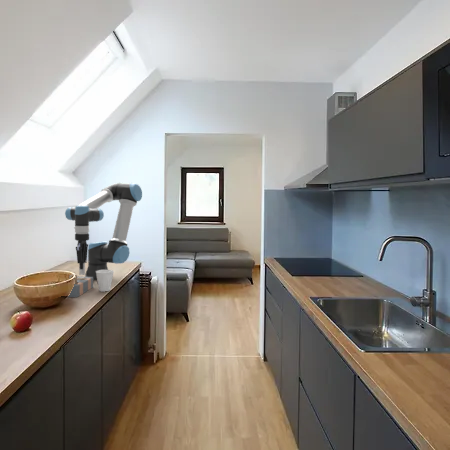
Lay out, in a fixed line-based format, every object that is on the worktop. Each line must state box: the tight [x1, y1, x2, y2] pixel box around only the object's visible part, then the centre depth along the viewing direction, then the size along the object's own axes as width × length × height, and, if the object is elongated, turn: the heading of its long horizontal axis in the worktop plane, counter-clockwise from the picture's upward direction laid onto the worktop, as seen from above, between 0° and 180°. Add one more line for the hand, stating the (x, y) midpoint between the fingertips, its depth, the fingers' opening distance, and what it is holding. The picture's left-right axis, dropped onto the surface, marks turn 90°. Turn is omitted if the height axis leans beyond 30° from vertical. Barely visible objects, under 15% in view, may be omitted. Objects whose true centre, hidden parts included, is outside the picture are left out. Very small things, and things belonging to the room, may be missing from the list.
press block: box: [67, 275, 94, 298], centre depth 223 cm, size 24×9×6 cm, turn 179°
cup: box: [96, 269, 115, 293], centre depth 227 cm, size 10×10×11 cm
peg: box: [68, 274, 78, 284], centre depth 216 cm, size 4×4×6 cm
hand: (82, 274), depth 229 cm, fingers closed
